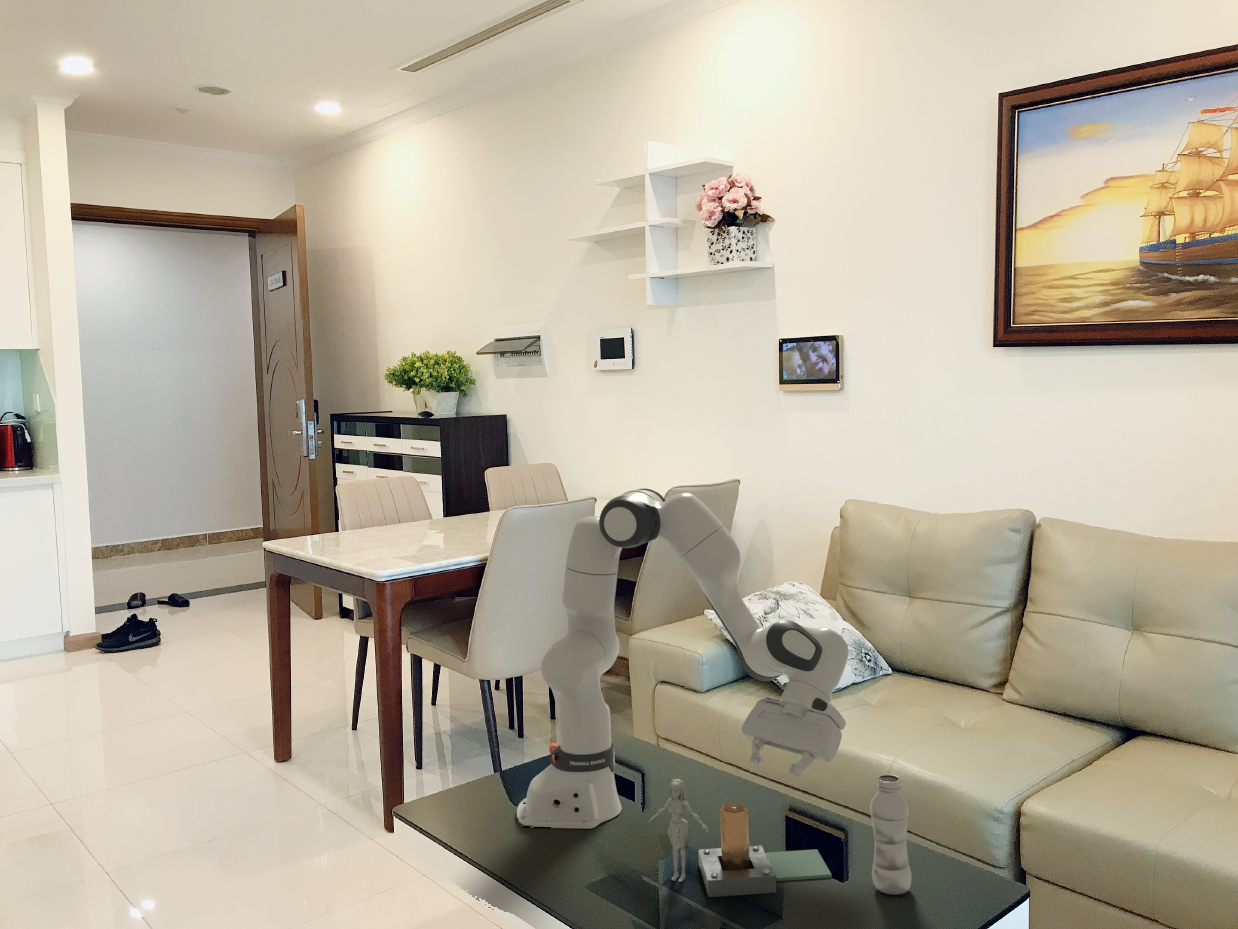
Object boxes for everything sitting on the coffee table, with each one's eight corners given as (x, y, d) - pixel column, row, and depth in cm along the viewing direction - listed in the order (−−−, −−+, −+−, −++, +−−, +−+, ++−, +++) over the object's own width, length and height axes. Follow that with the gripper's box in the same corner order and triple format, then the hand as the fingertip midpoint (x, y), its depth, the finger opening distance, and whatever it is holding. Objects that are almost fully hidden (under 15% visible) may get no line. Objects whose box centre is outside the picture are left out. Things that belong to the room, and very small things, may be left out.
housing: (708, 897, 169) (707, 878, 169) (698, 865, 181) (698, 847, 181) (776, 892, 169) (775, 873, 169) (762, 861, 181) (761, 843, 181)
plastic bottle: (913, 901, 165) (910, 786, 164) (872, 898, 166) (869, 785, 165) (910, 882, 171) (907, 772, 170) (870, 880, 172) (867, 770, 171)
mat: (776, 881, 173) (776, 878, 173) (765, 855, 183) (765, 852, 183) (831, 877, 174) (831, 874, 174) (817, 852, 184) (817, 849, 184)
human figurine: (646, 875, 178) (642, 779, 177) (654, 866, 181) (651, 772, 180) (707, 887, 172) (703, 789, 171) (714, 878, 176) (711, 781, 175)
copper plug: (724, 886, 172) (722, 813, 172) (720, 873, 177) (717, 802, 177) (752, 884, 173) (750, 811, 172) (747, 871, 178) (744, 800, 177)
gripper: (753, 687, 194) (723, 748, 188) (839, 707, 179) (810, 774, 173) (767, 704, 198) (738, 764, 191) (853, 725, 183) (825, 790, 177)
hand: (773, 769), depth 182 cm, fingers open, 8 cm apart
